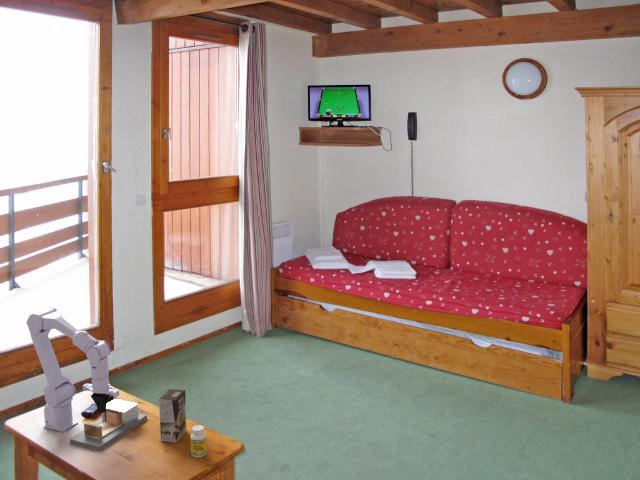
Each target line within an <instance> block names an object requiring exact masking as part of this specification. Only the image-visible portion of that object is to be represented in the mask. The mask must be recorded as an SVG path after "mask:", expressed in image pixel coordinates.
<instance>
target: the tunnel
mask: <svg viewBox="0 0 640 480" xmlns="http://www.w3.org/2000/svg"><path fill="white" fill-rule="evenodd" d="M138 408H139V407H138V403H136V402H130V401H127V400H122V399H118V398H113V400H111V401H108V402H107V406H106V411H105V412H103V413H101V420H102V422H105V421H106V412H108V411H115V412H119V413H122V426H123V427H126V426H127V425H129V424H130V423H132V422H133V421H135V420H136V419H138V413H139V409H138Z"/></svg>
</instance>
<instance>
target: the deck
mask: <svg viewBox="0 0 640 480" xmlns="http://www.w3.org/2000/svg"><path fill="white" fill-rule="evenodd" d="M147 419H148V415H147V414H143V413H141V412H140V413H139V412H138V419H136V420H135V421H133V422H132V423H130V424H129V425H127V426H126V427H123V426H120V427H119V428H117V429H116V430H114V431H113V432H111V433H110V434H108V435H106V436H105V437H103V438H102V439H96V438H92V437H88V436H84V434H85V433H84V430H82V431H81V432H78V433H77V434H76V435H74V436H73V437H71V438H69V444H70V445H71V444H72V445H75V446H79V447H82V448H87V449H90V450H95V451H98V452H101V451H102V450H103V449H105V448H106V447H108V446H109V445H111V444H112V443H114V442H115V441H117V440H118V439H119V438H121V437H122V436H124V435H126V434H127V433H128V432H130V431H132V430H133V429H134V428H136V427H138V426H139V425H140V424H142V423H144V422H145V421H146V420H147ZM102 423H103V422H102V419H100V420H98V421H97V422H95V423H94V425H100V424H102Z"/></svg>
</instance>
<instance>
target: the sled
mask: <svg viewBox="0 0 640 480" xmlns="http://www.w3.org/2000/svg"><path fill="white" fill-rule="evenodd" d="M94 424H95V423H94ZM94 424H93V423H91V422H90V423H89V422H84V423H83V431H84V433H85V434H84V436H88V437H92V438H96V439H102V438H103V437H105V436H106V435H108V434H110V433H111V432H113V431H114V430H116V429H117V428H119V427H120V426H122V422H121V423H119V424H117V425H114V424H110V423H107V420H106V421H105V422H103V423H102V424H100V425H94Z"/></svg>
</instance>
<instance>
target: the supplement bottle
mask: <svg viewBox="0 0 640 480" xmlns="http://www.w3.org/2000/svg"><path fill="white" fill-rule="evenodd" d="M206 433H207V432H205V427H204V426H203V425H200V424H198V425H194V426H192V427H191V434H190V436H189V437H190V440H189V442H190V455H191V456H192V457H193V458H202V457H205V456H206V455H207V453H208V452H207V451H208V448H207V446H208V444H207V434H206Z"/></svg>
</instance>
